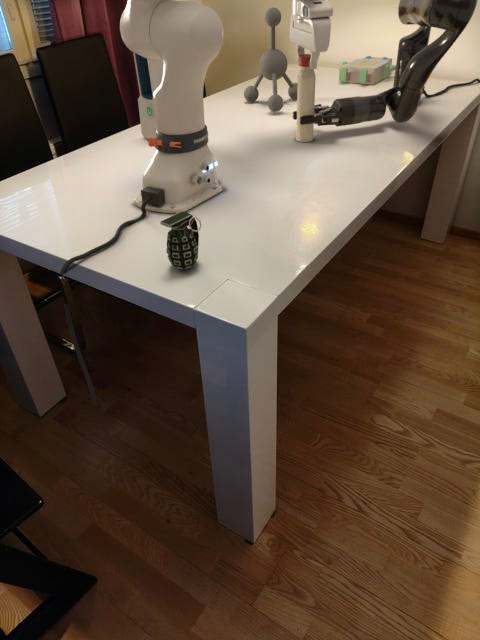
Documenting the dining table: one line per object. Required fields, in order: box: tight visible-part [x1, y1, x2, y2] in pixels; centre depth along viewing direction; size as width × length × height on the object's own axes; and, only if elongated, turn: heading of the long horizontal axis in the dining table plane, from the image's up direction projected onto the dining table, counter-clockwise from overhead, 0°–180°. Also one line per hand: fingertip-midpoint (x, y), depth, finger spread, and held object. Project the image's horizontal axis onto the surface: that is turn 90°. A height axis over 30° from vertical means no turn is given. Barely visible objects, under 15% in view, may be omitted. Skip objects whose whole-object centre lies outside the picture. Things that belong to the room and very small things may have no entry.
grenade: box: [159, 211, 202, 271], centre depth 88 cm, size 7×6×10 cm
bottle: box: [295, 66, 317, 143], centre depth 139 cm, size 5×5×22 cm
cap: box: [298, 53, 311, 68], centre depth 133 cm, size 5×5×2 cm
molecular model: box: [243, 6, 298, 113], centre depth 169 cm, size 24×22×30 cm
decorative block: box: [338, 55, 396, 85], centre depth 201 cm, size 26×6×20 cm
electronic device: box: [132, 52, 164, 140], centre depth 143 cm, size 12×8×30 cm, turn 47°
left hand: (307, 65), depth 134 cm, fingers open, 7 cm apart
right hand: (297, 118), depth 141 cm, fingers closed on bottle, 5 cm apart
